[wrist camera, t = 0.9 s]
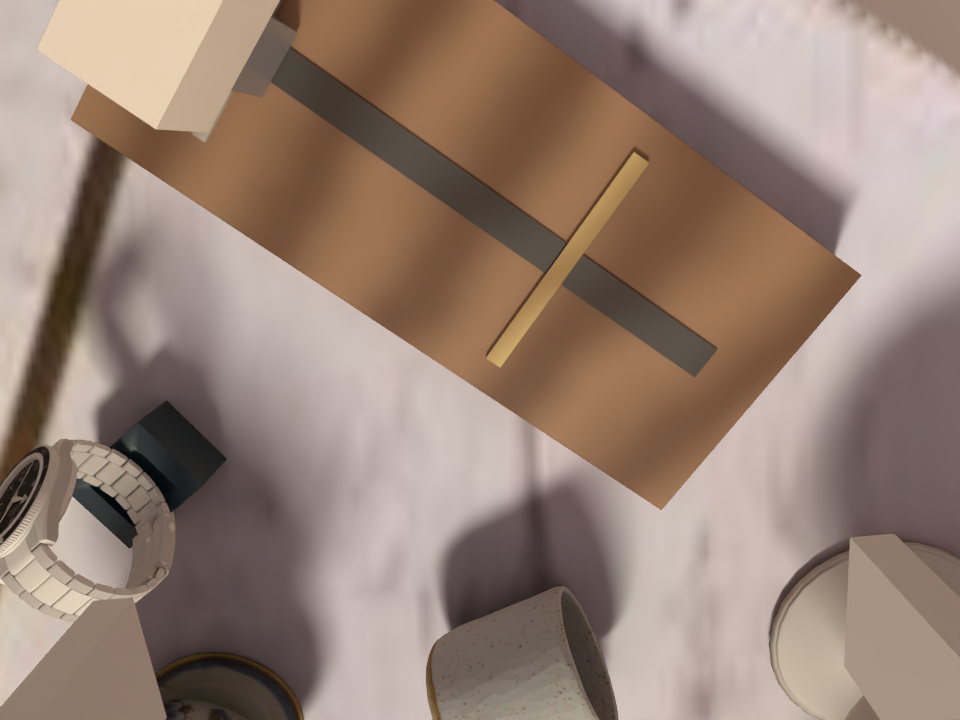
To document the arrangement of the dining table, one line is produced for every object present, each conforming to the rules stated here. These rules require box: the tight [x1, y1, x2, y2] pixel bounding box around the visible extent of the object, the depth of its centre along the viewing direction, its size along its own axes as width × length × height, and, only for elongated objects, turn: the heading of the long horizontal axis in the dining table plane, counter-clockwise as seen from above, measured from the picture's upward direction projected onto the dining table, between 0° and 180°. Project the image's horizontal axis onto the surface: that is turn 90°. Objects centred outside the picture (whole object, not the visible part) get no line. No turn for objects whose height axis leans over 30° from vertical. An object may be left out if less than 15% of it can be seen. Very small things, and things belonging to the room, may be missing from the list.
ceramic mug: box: [426, 586, 618, 720], centre depth 38 cm, size 11×8×8 cm
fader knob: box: [37, 0, 298, 133], centre depth 25 cm, size 4×6×9 cm, turn 146°
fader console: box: [71, 0, 861, 510], centre depth 33 cm, size 32×14×3 cm, turn 56°
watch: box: [0, 401, 226, 622], centre depth 33 cm, size 6×8×11 cm
